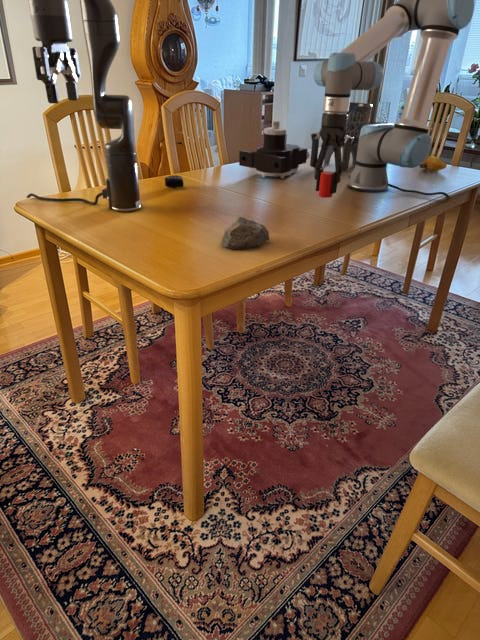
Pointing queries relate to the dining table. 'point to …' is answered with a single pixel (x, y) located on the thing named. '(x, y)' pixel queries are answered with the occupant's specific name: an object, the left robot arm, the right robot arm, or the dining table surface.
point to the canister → (325, 184)
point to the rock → (245, 234)
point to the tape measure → (174, 181)
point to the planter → (353, 128)
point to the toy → (433, 164)
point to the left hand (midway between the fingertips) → (64, 101)
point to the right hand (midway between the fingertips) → (325, 191)
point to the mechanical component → (274, 154)
